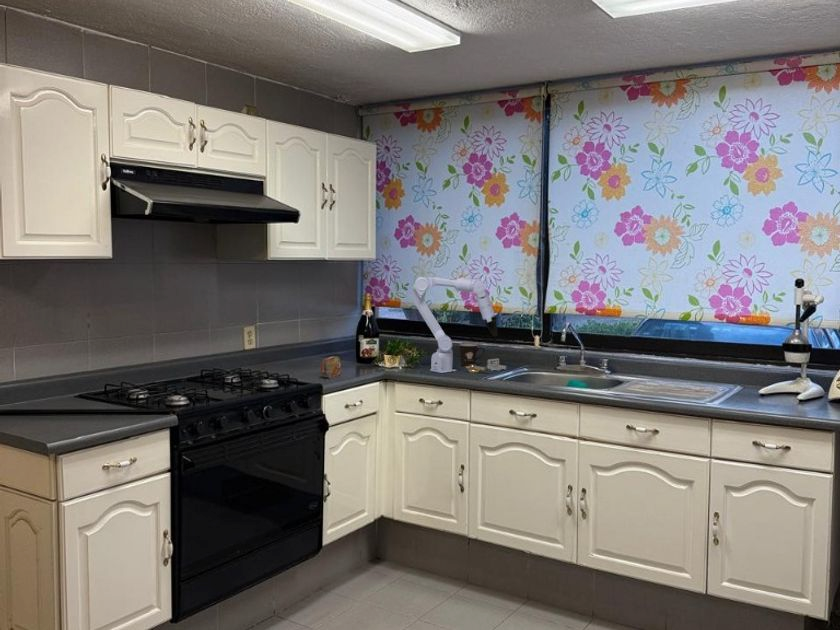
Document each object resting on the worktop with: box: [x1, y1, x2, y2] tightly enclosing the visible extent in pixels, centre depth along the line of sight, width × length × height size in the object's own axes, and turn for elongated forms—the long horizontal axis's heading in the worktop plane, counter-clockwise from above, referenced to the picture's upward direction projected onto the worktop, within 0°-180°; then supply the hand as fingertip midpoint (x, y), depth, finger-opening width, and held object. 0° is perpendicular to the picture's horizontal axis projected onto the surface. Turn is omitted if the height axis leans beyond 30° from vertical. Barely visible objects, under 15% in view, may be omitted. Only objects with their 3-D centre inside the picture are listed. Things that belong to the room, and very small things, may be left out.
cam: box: [464, 363, 489, 373], centre depth 337 cm, size 11×6×3 cm, turn 44°
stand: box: [486, 358, 507, 371], centre depth 348 cm, size 8×5×4 cm, turn 134°
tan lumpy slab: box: [321, 355, 343, 379], centre depth 319 cm, size 15×3×8 cm, turn 161°
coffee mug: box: [458, 343, 486, 367], centre depth 356 cm, size 12×9×10 cm
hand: (495, 334), depth 338 cm, fingers open, 7 cm apart
